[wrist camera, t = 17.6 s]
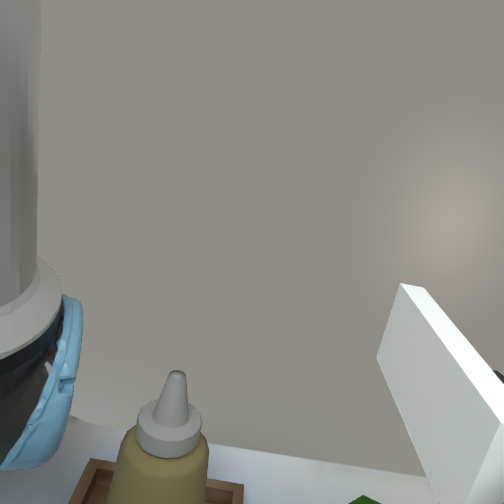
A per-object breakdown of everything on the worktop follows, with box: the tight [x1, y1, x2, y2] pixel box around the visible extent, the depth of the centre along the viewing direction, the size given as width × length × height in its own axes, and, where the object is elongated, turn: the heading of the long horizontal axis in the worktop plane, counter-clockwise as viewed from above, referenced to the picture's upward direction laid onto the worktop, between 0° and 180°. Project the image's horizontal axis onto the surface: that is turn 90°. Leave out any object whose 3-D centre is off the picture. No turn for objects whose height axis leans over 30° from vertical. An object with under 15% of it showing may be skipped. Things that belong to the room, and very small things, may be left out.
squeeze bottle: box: [106, 370, 209, 504], centre depth 36 cm, size 8×8×18 cm
